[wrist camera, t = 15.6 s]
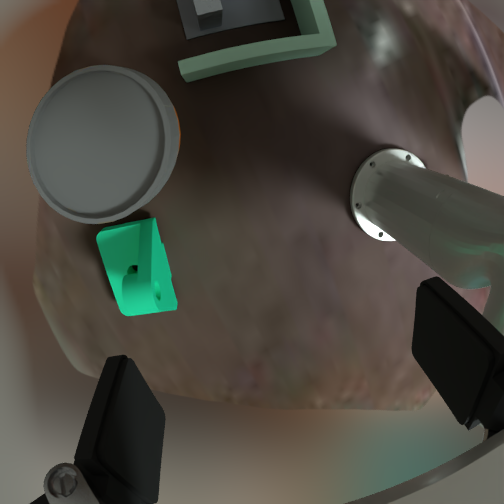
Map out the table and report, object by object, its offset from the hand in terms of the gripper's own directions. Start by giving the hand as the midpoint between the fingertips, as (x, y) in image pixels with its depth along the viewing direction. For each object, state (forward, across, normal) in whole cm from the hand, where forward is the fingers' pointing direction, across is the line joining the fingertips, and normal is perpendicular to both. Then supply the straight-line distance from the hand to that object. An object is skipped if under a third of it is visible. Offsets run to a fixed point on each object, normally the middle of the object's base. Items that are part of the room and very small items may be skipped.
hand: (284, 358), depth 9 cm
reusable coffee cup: (+30, +10, -8) cm, 33 cm away
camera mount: (+30, +14, +7) cm, 34 cm away
